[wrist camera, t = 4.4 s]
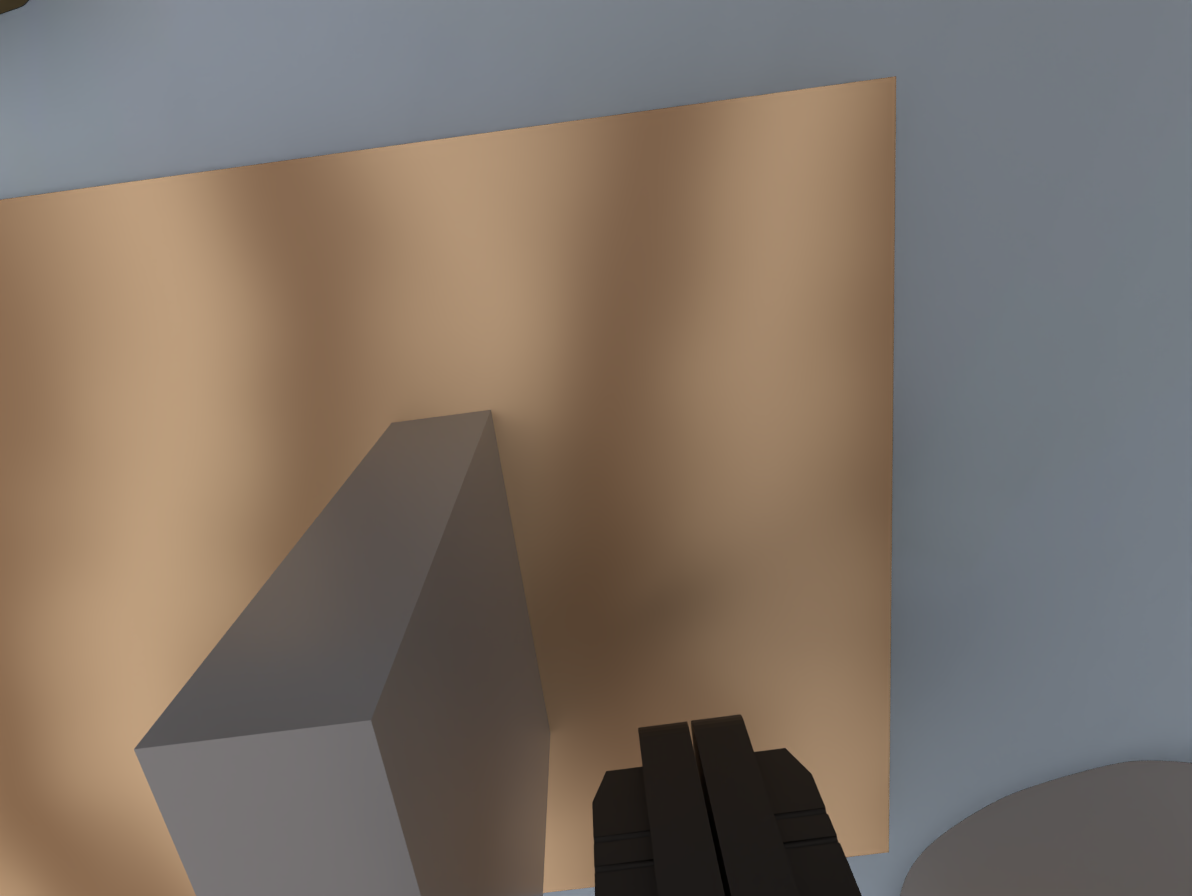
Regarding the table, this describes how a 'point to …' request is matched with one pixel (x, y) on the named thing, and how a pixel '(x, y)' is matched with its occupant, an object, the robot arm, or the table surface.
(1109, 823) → the lumpy-topped squat cylinder
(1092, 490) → the table surface
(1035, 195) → the table surface
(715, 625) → the oak board
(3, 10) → the olive pepper mill
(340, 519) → the slate tile
